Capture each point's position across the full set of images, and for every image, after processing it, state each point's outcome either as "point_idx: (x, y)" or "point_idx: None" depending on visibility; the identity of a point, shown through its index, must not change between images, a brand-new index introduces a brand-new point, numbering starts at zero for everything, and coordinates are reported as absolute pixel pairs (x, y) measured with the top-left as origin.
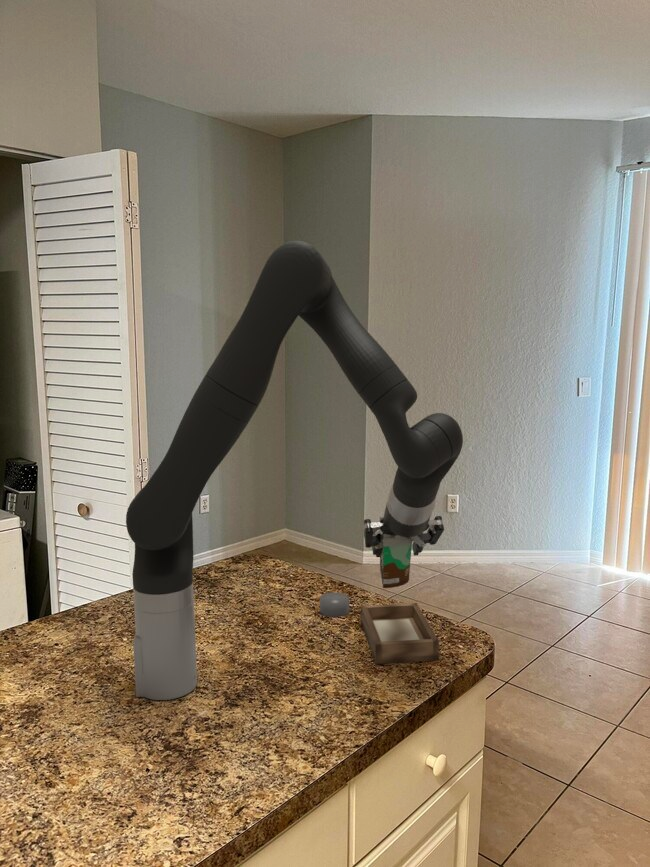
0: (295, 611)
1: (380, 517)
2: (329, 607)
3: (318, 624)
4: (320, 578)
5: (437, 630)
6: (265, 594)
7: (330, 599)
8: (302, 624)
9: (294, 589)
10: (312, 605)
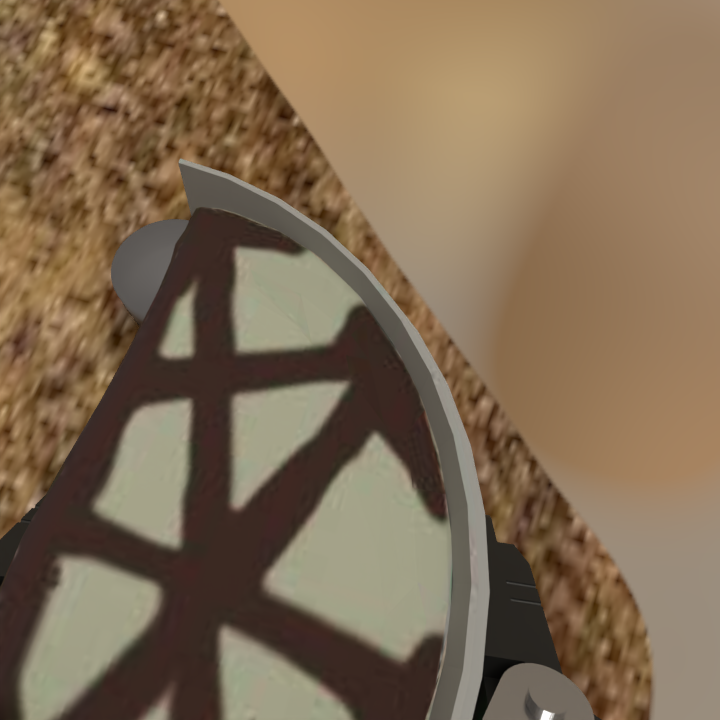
0: (52, 260)
1: (186, 168)
2: (135, 315)
3: (80, 380)
4: (240, 57)
5: None
6: (18, 116)
7: (149, 276)
8: (26, 365)
9: (125, 107)
10: (129, 231)
